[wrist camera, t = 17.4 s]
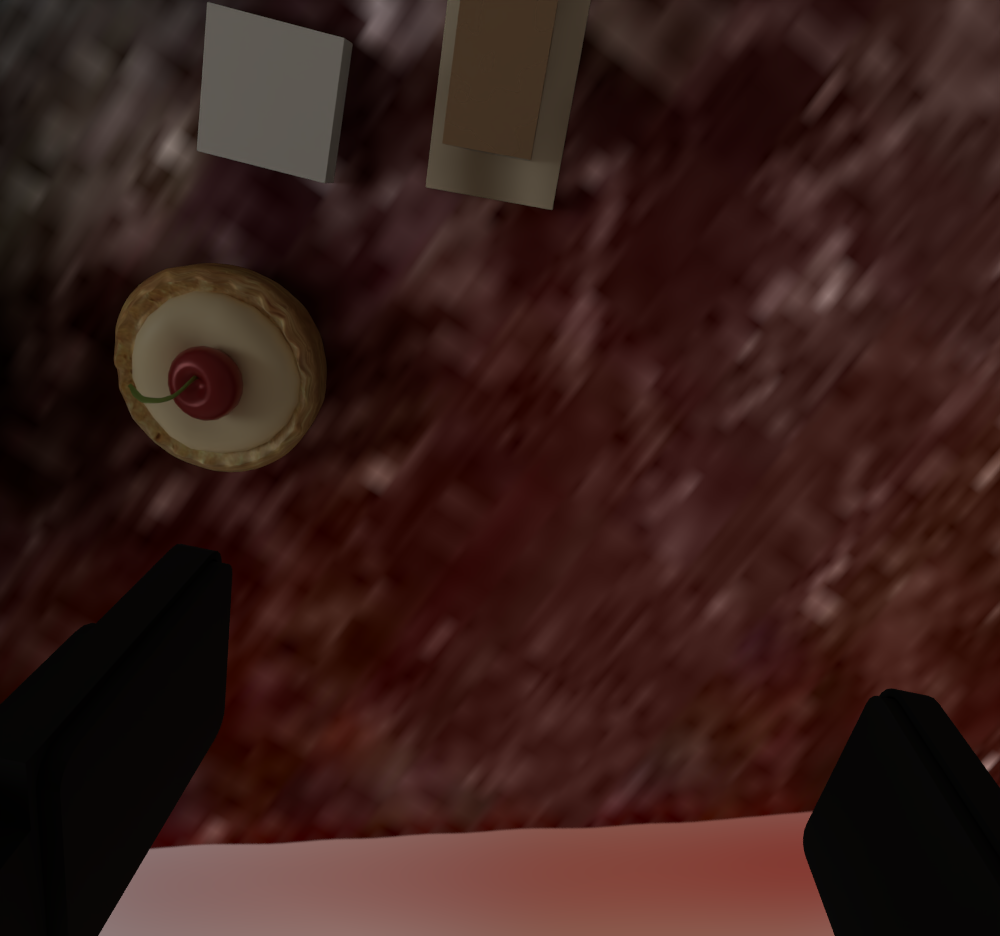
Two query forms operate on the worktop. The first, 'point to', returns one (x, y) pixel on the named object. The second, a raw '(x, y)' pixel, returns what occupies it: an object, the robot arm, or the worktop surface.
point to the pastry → (219, 365)
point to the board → (540, 174)
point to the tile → (272, 93)
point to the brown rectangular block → (499, 75)
